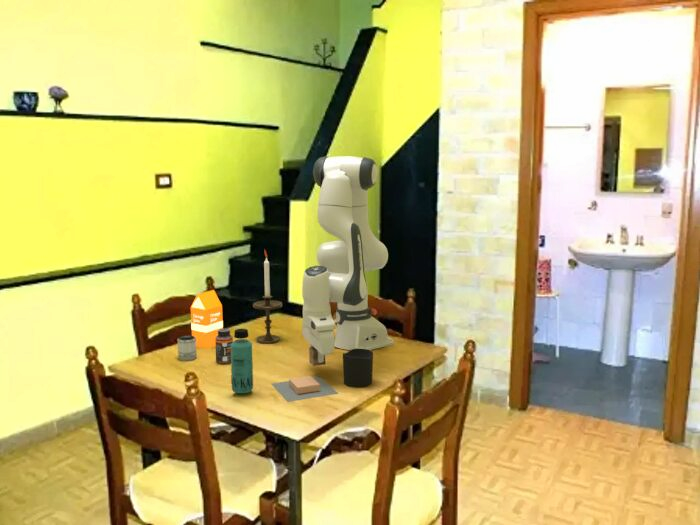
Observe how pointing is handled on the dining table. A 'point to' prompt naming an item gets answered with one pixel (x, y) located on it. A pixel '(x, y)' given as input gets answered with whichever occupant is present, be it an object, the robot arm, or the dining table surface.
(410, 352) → the dining table surface
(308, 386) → the tile
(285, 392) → the mat
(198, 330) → the orange juice
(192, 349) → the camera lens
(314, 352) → the block
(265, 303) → the candlestick
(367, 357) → the pen holder
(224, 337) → the supplement bottle
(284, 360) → the dining table surface
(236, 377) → the beverage bottle
